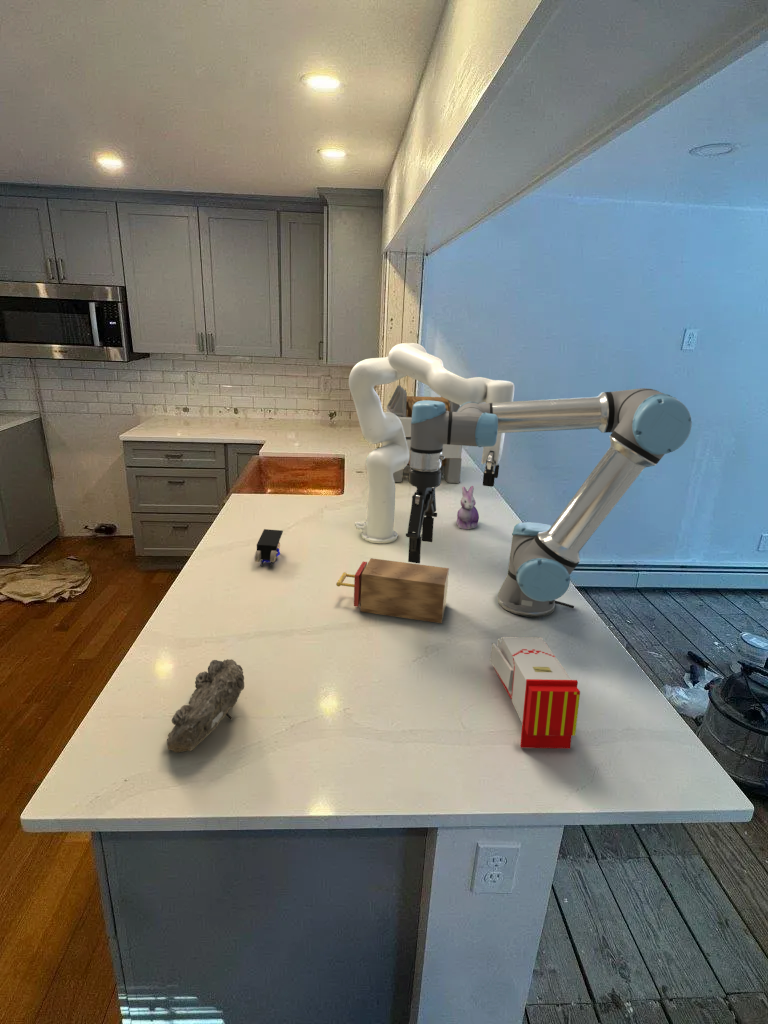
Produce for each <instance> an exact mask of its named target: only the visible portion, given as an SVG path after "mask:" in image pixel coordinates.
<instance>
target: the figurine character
mask: <svg viewBox="0 0 768 1024" xmlns="http://www.w3.org/2000/svg"><path fill="white" fill-rule="evenodd" d="M283 533H284V531H283V530H279V529H269V528H268V529H266V528H264V529H263V530H262V533H261V534H260V536H259V539H258V541H257V543H256V550H255V554H254V562H255V563H260V567H263V566H264V564H265V563H269V567H270V568H272V567H273V564H274V563H275V562H277V560H278V559H277V558H278V557H279V556H281V552H280V549H281V543H280V540H281V538H282V535H283Z"/></svg>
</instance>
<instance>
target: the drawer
mask: <svg viewBox="0 0 768 1024" xmlns="http://www.w3.org/2000/svg"><path fill="white" fill-rule="evenodd" d="M367 564H368V561H362V562H361V564H360V565H359V567H358V569H357V571H356V572H355V574H351V573H347V571H344V572H342V574H341V576H340V577H339V579H338V580H337V582H336V583H335V585H336V586H337V587H341V586H342V587H350V588H353V606H354V607H355V608H356V607H357V608H359V607H360V605H361V581H362V573H363V571H364V569H365V567H366V566H367ZM346 578H352V579H353V578H354V584H353V583H349V582H347V583H346V582H344V581H345V579H346Z"/></svg>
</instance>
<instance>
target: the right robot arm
mask: <svg viewBox="0 0 768 1024" xmlns="http://www.w3.org/2000/svg"><path fill="white" fill-rule="evenodd" d="M448 420H449V421H448ZM692 425H693V421H692V415H691V413H690V411H689V409H688V407H687V406H686V405H685V404H684V403H683V402H682V401H680V400H679V399H678V398H677V397H675V396H673V395H670V394H667V393H664V392H661V391H659V390H657V389H653V388H645V387H644V388H643V387H642V388H633V389H623V390H616V391H615V390H614V391H602V392H600V393H599V394H598V396H591V397H587V396H586V397H572V398H570V397H569V398H556V399H553V398H552V399H535V400H534V399H533V400H518V401H517V400H516V401H513V402H496V403H479V404H478V403H476V402H466V403H464V404H462V405H460V407H459V409H458V410H457V412H449V411H446V408H445V404H444V403H443V402H440V401H432V400H424V401H418V402H416V403H415V404H414V405H413V410H412V420H411V445H410V461H409V467H410V468H409V469H408V483H409V484H410V485H411V486H412V487H415V488H416V491H414V494H412V496H411V507H410V514H409V521H408V526H407V533H405V538H408V553H407V554H408V555H407V556H408V557H407V558H408V559H407V563H412V564H420V563H421V552H422V542H426V543H433V541H434V540H433V538H434V523H435V518H438V512H437V503H436V502H437V500H436V488H437V487H439V486H440V485H441V484H442V483H441V482H442V474H441V470H440V469H439V468H441V464H442V460H444V458H445V457H444V456H442V451H443V444H447V445H462V447H463V446H465V447H467V446H468V447H478V448H483V447H491V446H494V445H495V443H496V440H497V433H505V434H508V433H509V434H511V433H531V432H534V433H535V432H551V431H552V432H553V431H554V432H555V431H577V430H579V431H580V430H598V431H599V432H600V433H602V434H605V433H611V434H610V435H609V436H608V437H609V442H610V446H609V448H608V449H607V450H606V452H605V453H604V455H602V458H601V459H600V460H599V461H598V462H597V464H596V465H595V466H594V468H593V469H592V471H591V472H590V473H589V474H588V476H587V478H586V479H585V480H584V482H583V483H582V484H581V486H579V488H578V489H577V491H576V492H575V494H574V495H573V496H572V498H571V499H570V500H569V502H568V503H567V504H566V506H565V507H564V508H563V510H562V511H561V513H560V514H559V516H558V517H557V518H556V519H555V521H554V522H553V523H552V524H551V525H550V524H546V523H541V522H533V521H531V522H529V521H528V522H526V521H524V522H518V523H517V524H515V525H514V526H513V530H512V533H511V537H512V538H511V544H510V551H509V561H508V567H507V574H506V576H505V579H504V580H503V582H502V584H501V586H500V588H499V591H498V594H497V603H498V605H499V606H500V607H501V608H503V610H505V611H507V612H509V613H511V614H514V615H517V616H521V617H527V618H542V617H546V616H549V615H551V614H552V613H554V611H555V608H556V605H560V606H563V607H566V608H570V609H574V608H575V605H572V604H569V603H566V602H561V601H559V600H558V601H557V599H559V598H561V597H563V596H564V594H566V592H567V591H568V589H569V587H570V584H571V576H570V575H571V574H572V573H573V571H574V570H575V569H576V568H577V566H578V565H579V564H580V562H581V557H580V551H581V550H582V549H583V548H584V546H585V545H586V544H587V542H589V540H590V538H591V537H592V536H593V535H594V534H595V532H596V531H597V530H598V528H599V527H600V526H601V524H602V523H603V522H604V521H605V519H606V518H607V517H608V515H609V514H610V513H611V512H612V510H614V508H615V506H616V505H618V503H619V501H621V500H622V498H623V496H624V495H625V494H626V493H627V491H628V490H629V488H631V486H632V485H633V483H634V482H635V481H636V480H637V479H638V477H639V476H640V474H641V473H642V472H643V471H644V470H645V469H646V468H650V467H654V466H657V465H658V463H659V462H660V461H661V460H662V459H663V458H664V456H665V455H666V454H670V453H673V452H676V451H677V450H678V449H680V448H681V447H682V446H683V445H684V444H685V443H686V442H687V440H688V438H689V437H690V434H691V431H692V427H693V426H692Z"/></svg>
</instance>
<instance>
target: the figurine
mask: <svg viewBox="0 0 768 1024" xmlns="http://www.w3.org/2000/svg"><path fill="white" fill-rule="evenodd" d="M474 489H475V487H474V485H471V486H470V487H469V489H468V490H467V488H466V487H465V486H461V493H462V497H461V500H460V506H461V508H459V509H458V510H457V513H456V517H457V518H456V522H455V523H456V526H458V528H459V529H463V530H470V529H475V528H477V526H478V524H479V520H480V515H479V511H478V509H477V507H476V503H477V502H476V499H475V496H474Z"/></svg>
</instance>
